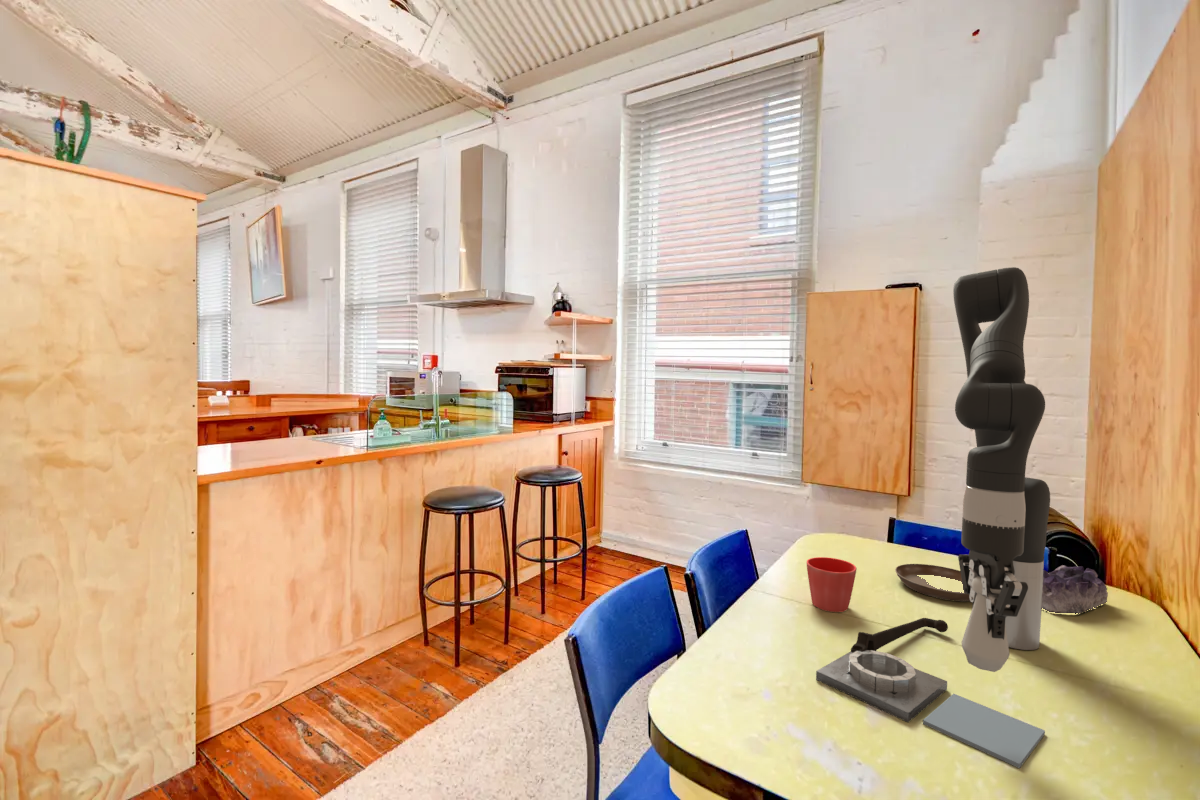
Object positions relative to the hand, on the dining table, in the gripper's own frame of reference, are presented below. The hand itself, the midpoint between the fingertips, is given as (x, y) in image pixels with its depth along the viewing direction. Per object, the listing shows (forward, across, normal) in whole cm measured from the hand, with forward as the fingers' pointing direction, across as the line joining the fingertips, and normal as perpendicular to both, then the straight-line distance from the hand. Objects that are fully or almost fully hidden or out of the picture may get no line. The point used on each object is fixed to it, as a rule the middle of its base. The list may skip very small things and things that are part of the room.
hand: (987, 633), depth 82 cm
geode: (+15, +54, -48) cm, 74 cm away
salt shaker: (+5, 0, 0) cm, 5 cm away
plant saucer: (+15, +61, -23) cm, 66 cm away
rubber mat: (+14, 0, 0) cm, 14 cm away
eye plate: (+14, +10, +11) cm, 21 cm away
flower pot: (+15, +44, +9) cm, 48 cm away
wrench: (+14, +24, +2) cm, 28 cm away
